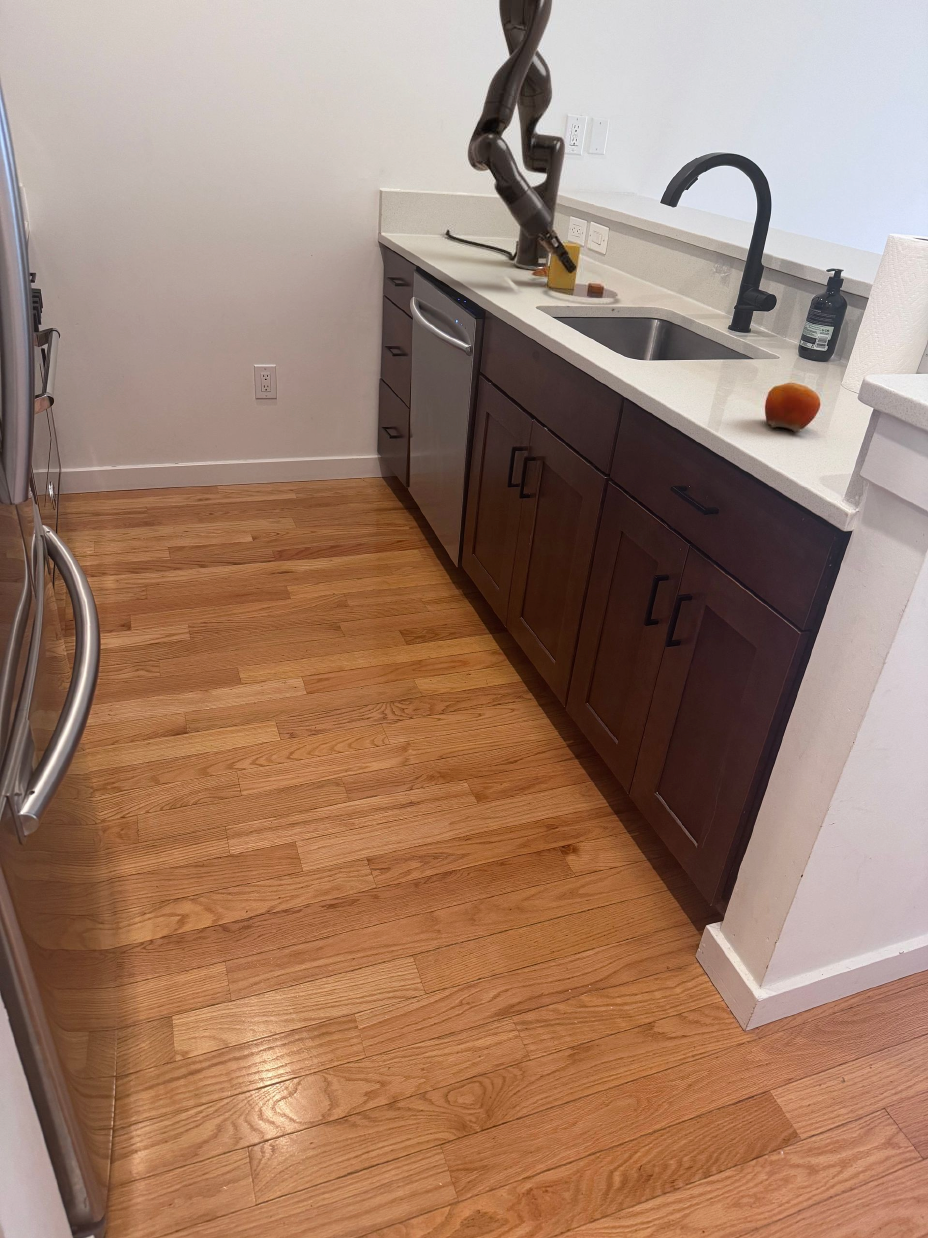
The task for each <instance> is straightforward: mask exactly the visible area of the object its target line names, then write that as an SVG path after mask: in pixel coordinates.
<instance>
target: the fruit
mask: <svg viewBox="0 0 928 1238" xmlns="http://www.w3.org/2000/svg"><path fill="white" fill-rule="evenodd" d="M820 407H821V398H820V396H819V395H818V394H817V392H816V391H815V390H813V389H812V388H810V387H809V386H807V385H804V384H800V383H797V382H786V383H783V384H780V385H774V387H772V388H771V389H770V390H769V391H768V392H767V396H766V399H765V403H764V415H765V421H766V423H767V424H769V425H770V426H771V429H773V428H786V429H789V430H792V431H793V432H794V433H795V435H796V436H798V431H799V430H804V428H806V427H808V425H810V424H811V422H812V421H813V420H814V419H815V418H816V416H817V415H818V413H819V411H820Z"/></svg>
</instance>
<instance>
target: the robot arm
mask: <svg viewBox="0 0 928 1238" xmlns="http://www.w3.org/2000/svg"><path fill="white" fill-rule="evenodd" d="M552 9H553V0H498V12H499V19H500V24H501V29H502V32H503V36H504V40H505V44H506V47H507V52H508V58H507V59H506V60H505V61H504V62H503V64H501V66H500V67H499V68H498V69H497V71H496V72H495V74H494V75H493V77H492V79H491V81H490V83H489V86H488V88H487V92H486V96H485V99H484V103H483V107H482V111H481V115H480V117H479V119H478V121H477V123H476V125H475V127H474V130H473V132H472V135H471V137H470V139H469V143H468V147H467V161H468V163H469V165H470V166H471V168H472V169H473V170H475V171H477V172H485V171H488V170H489V172H490V174H491V175H492V177H493V179H494V180H495V181H494V183H493V187H494V188H493V189H494V190H495V192H496V194H497V195H498V197H499V198H500V199H501V201H502V202H503V203H504V205H505V206H506V208H507V209H508V211H509V213H510V215H511V216H512V218H513V219H514V220H515V222H516V223H517V224H518V226H519V232H518V240H516V243H515V251H514V254H513V253H512V252H511V251H509V250H506V249H504V248H500V247H498V246H492V245H490V244H485V243H480V242H476V241H472V240H468V239H463V238H461V237H457V236H454V235H452V234H451V230H450V229H449V230H450V231H449V230H448V229H446V232H445V235H446V236H447V238H449V239H451V240H454V241H457V242H460V243H463V244H467V245H471V246H476V247H479V248H485V249H488V250H493V251H496V252H500V253H503V254H505V255H508V256H509V260H510V261H512V262H514V261H515V266H516V267H517V268H520V269H524V270H530V271H536V270H537V269H541V268H542V267H544V266H549V263H550V256H551V254H552V255H556V257H557V258H558V259H559V261H560V262H561V263H562V264H563V265H564V267H565V268H566V270H567V271H568V272H569V273H572V272H573V271H575V270H576V266H575V264H574V263H573V261H572V260H571V259H570V257H569V253H568V251H567V250H566V249H565V247H564V244H563V243H562V240H561V239H560V238H559V235H558V233H557V232H556V230H555V229H554V224H555V217H556V209H557V202H558V201H557V200H558V195H559V189H560V184H561V183H560V182H561V177H562V171H563V166H564V160H565V156H566V155H565V154H566V143H565V140H564V138H563V137H562V136H558V135H551V134H543V133H538V132H537V126H538V124H539V122H540V120H541V119H542V118H543V117H544V115H545V114H546V112H547V111H548V109H549V107H550V105H551V103H552V99H553V84H552V75H551V70H550V68H549V65H548V63H547V62H546V60H545V58H544V57H543V55H542V54H541V52H540V51H539V50H538V49H539V46H540V44H541V41H542V39H543V36H544V34H545V32H546V29H547V28H548V27H547V26H548V24H549V21H550V18H551V13H552ZM516 108H517V113H518V114H517V115H518V122H519V130H520V131H519V132H520V146H521V158H522V164H523V167H524V169H525V170H526V171H527V172H530V173H534V174H535V173H536V174H542V175H545V179H544V180H543V181H542V182H541V183H539V184H537V185H533V186H531V184H530V183H529V182H528V180H527V179H526V178H525V176H524V175H523V173H522V172H521V171H520V169H519V167H518V164H517V161H516V159H515V157H514V154H513V152H512V149H511V148H510V146H509V144H508V143H507V141H506V140H505V139H504V138H503V137H502V136H503V134H504V132H505V131H506V130H507V129H508V127H509V126H510V125H511V123H512V120H513V117H514V113H515V111H516ZM561 250H563V253H562V254H561V255H559V254H558V253H559V252H560V251H561Z"/></svg>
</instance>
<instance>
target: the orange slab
mask: <svg viewBox="0 0 928 1238" xmlns="http://www.w3.org/2000/svg"><path fill="white" fill-rule="evenodd" d="M587 285H588V290H589V291H591V292H594V293H603V291H604V288H605V286H604V285H602V284H601V283H596V282H588V284H587Z"/></svg>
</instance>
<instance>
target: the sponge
mask: <svg viewBox="0 0 928 1238" xmlns="http://www.w3.org/2000/svg"><path fill="white" fill-rule="evenodd" d="M561 242H562V241H561ZM562 243H563V244H564V247H565V249H566V250H567V251H568V253H569V257H570V259H571V260H572V261H573V263H574V264H575V266H576V270H575V271H573V272H572V273H569V272H568V271H567V270H566V268H565V267H564V265H563V264H562V263H561V262H560V261H559V259H558V258H557V257H556V255H552V254H551V253H550V257H549V264H548V266H549V273H548V277H547V281H546V285H548V286H550V287H551V288H561V289H574V287H575V283H576V281H577V273H578V267H579V260H580V253H581V245H579V244H578V243H575V242H562ZM562 253H563V250H561V251H560V252H559V253H558V254H559V255H561V254H562Z"/></svg>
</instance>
